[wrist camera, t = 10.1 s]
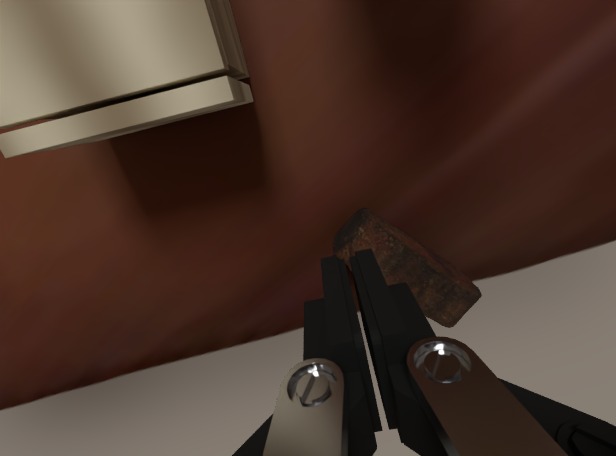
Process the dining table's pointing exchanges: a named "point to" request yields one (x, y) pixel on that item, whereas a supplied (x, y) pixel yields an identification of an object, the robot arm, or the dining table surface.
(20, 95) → the lid
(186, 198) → the dining table surface
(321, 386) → the robot arm
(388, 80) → the dining table surface
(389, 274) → the brick
